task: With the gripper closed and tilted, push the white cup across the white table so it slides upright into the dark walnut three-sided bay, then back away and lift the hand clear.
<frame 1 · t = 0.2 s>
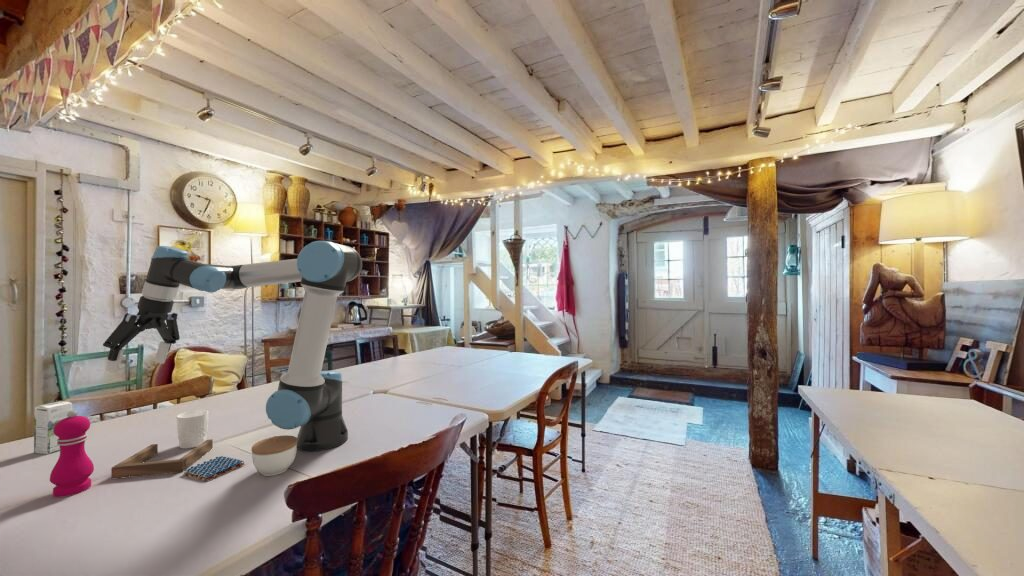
hand: (136, 366, 112), 27 cm above the table, tool tilted 15°, fingers open, 13 cm apart
pepper mill: (72, 491, 95), on the table
woven mat: (214, 472, 105), on the table
lidded jar: (275, 471, 105), on the table
syrup box: (53, 450, 119), on the table
white cup: (193, 445, 123), on the table
walnut bay: (166, 462, 110), on the table
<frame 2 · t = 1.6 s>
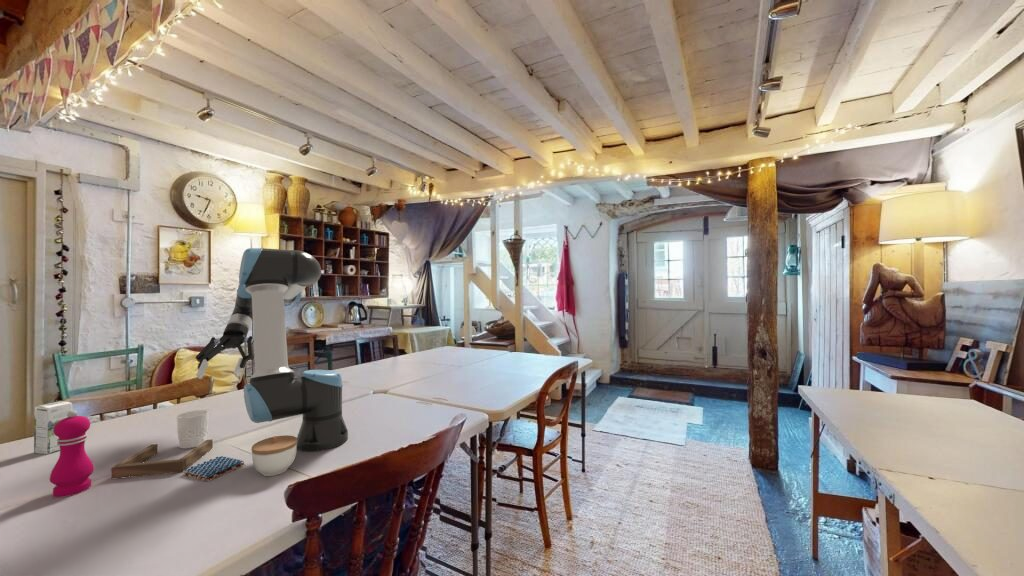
hand: (217, 376, 136), 19 cm above the table, tool tilted 45°, fingers open, 11 cm apart
nothing on the table moved.
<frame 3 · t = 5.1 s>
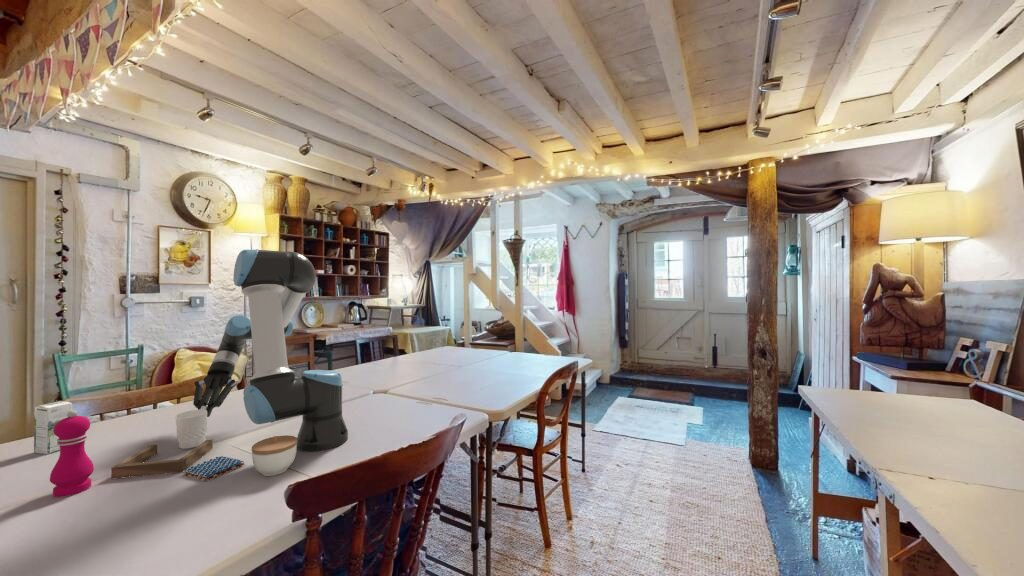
hand: (198, 425, 127), 5 cm above the table, tool tilted 45°, fingers closed
white cup: (192, 444, 123), on the table, touching gripper
everything else where it was.
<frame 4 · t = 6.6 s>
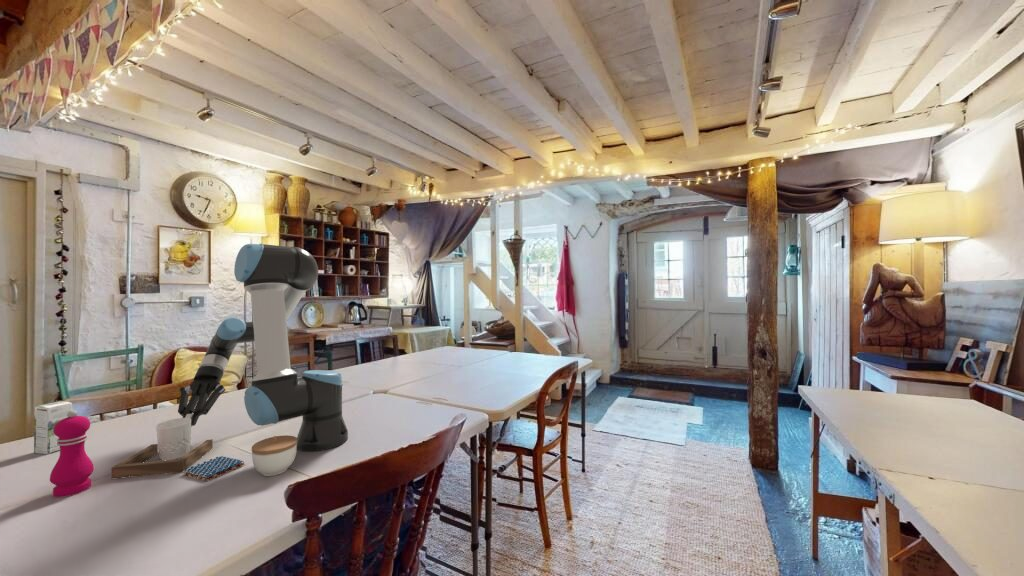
hand: (182, 435, 119), 5 cm above the table, tool tilted 45°, fingers closed
white cup: (175, 456, 114), on the table, touching gripper
everything else where it was.
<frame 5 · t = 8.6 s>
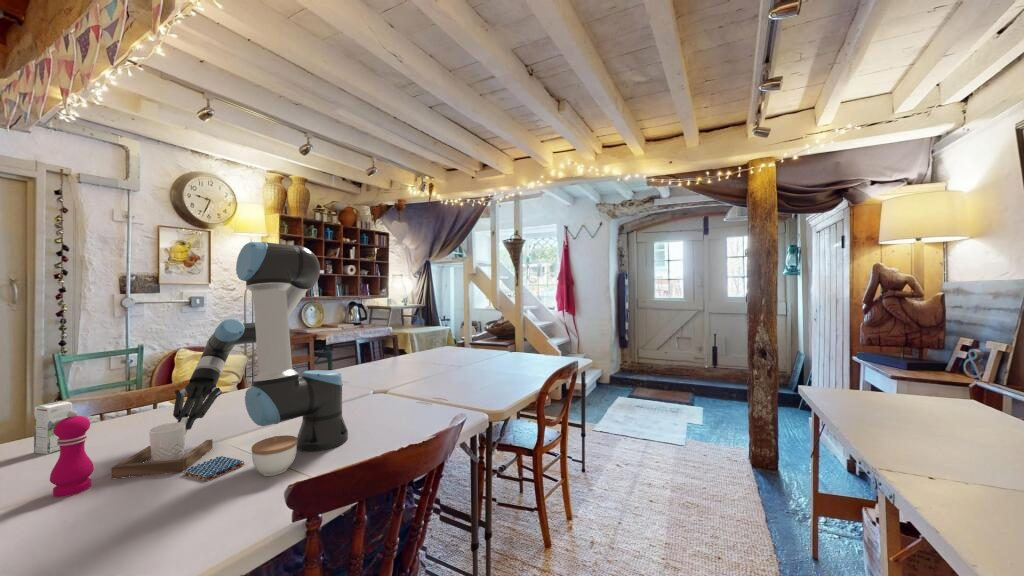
hand: (177, 439, 115), 5 cm above the table, tool tilted 45°, fingers closed
white cup: (168, 462, 111), on the table, touching gripper
everything else where it was.
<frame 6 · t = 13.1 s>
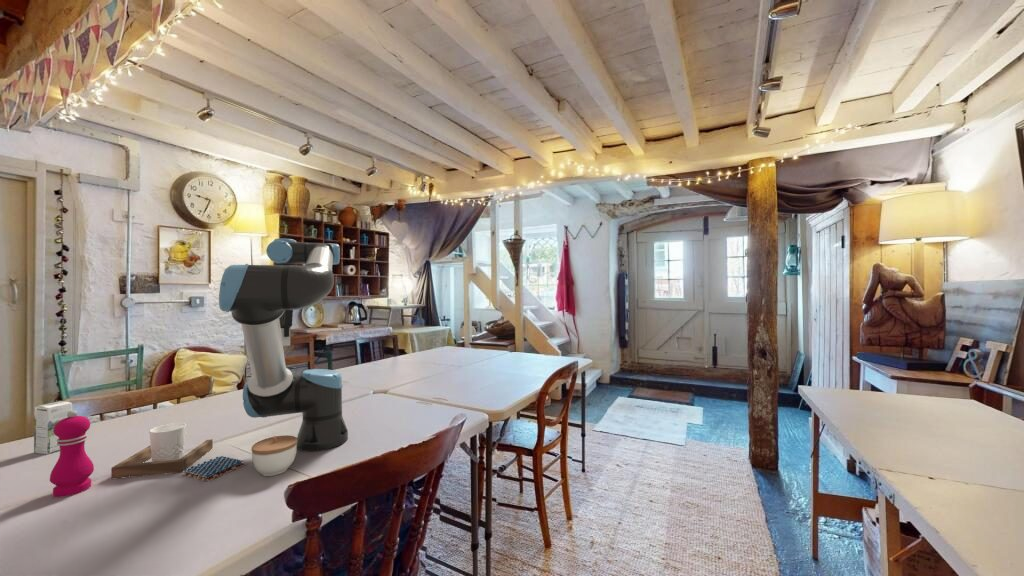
hand: (285, 345, 139), 29 cm above the table, tool pointing down, fingers closed
white cup: (168, 462, 111), on the table
everything else where it was.
at the end: white cup 0.4 cm from the walnut bay (horizontally); white cup tilted 0° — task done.
